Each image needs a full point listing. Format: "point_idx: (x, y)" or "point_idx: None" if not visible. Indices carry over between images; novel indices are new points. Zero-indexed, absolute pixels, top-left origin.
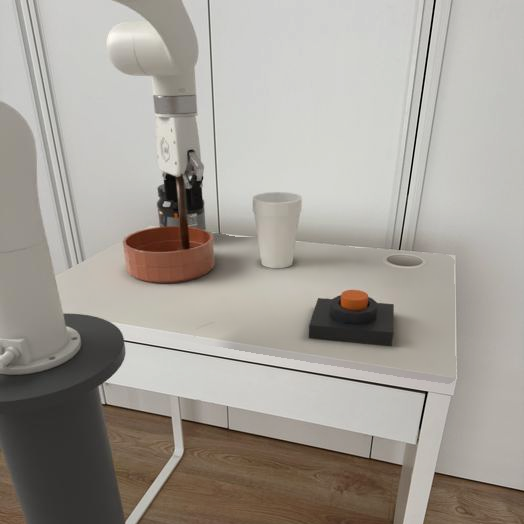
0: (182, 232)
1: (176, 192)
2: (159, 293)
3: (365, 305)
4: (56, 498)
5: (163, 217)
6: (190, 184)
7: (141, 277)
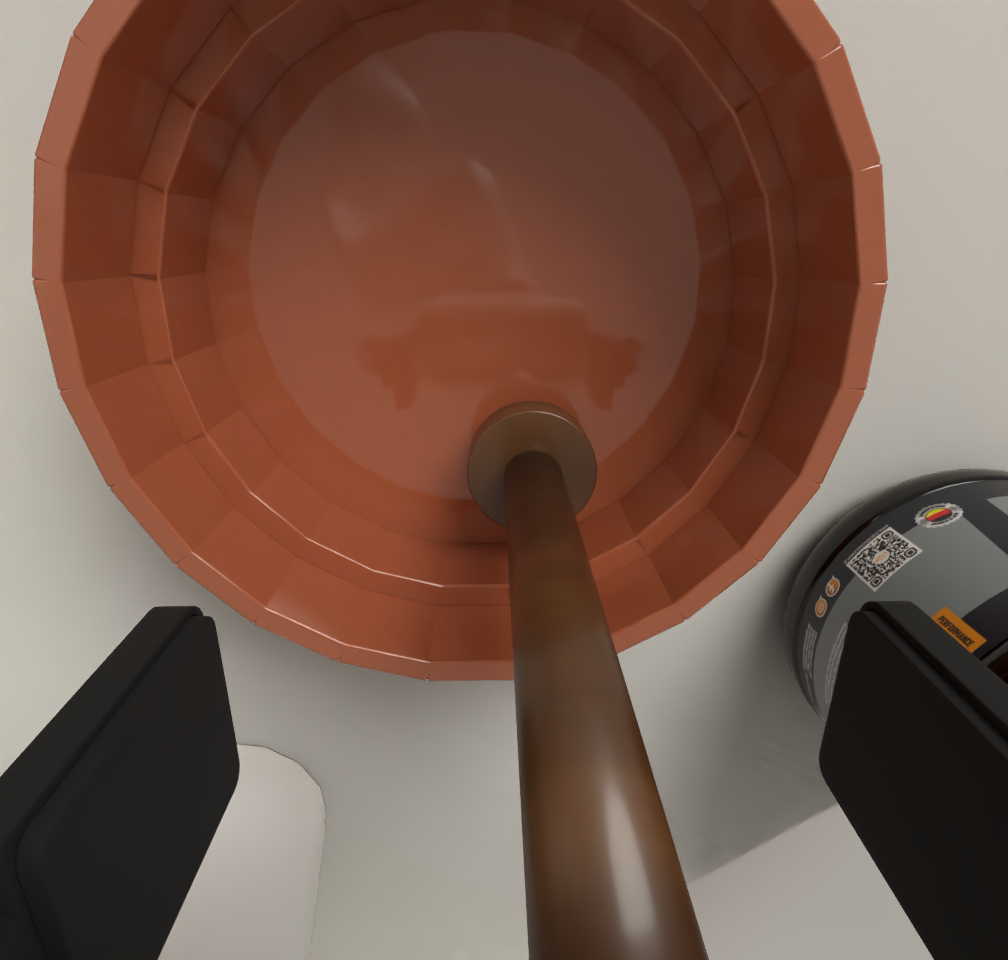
0: (520, 500)
1: (869, 787)
2: (45, 22)
3: None
4: None
5: None
6: None
7: None
